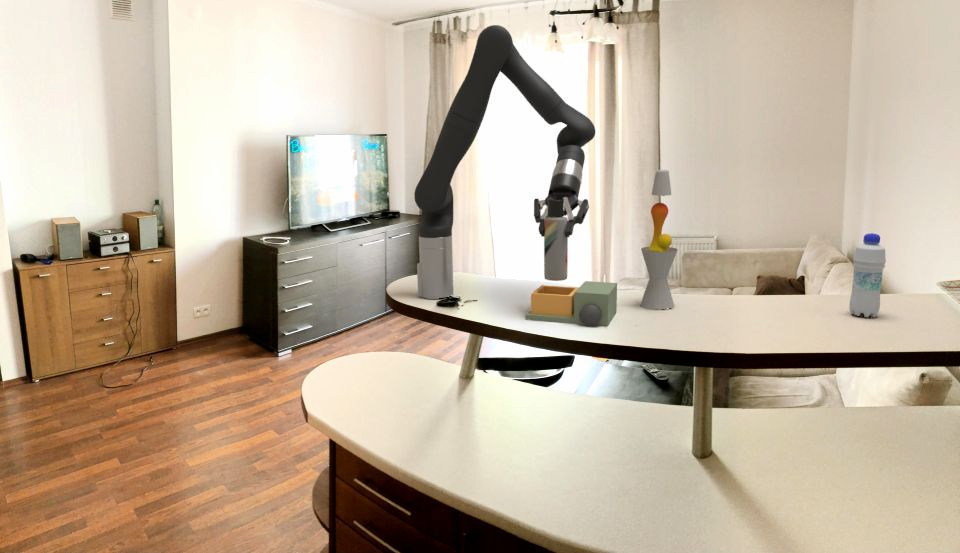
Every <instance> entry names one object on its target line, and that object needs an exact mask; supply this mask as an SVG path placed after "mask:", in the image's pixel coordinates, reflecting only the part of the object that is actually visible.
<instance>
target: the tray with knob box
mask: <svg viewBox="0 0 960 553" xmlns="http://www.w3.org/2000/svg"><path fill="white" fill-rule="evenodd" d="M617 301H618V283H617V282H605V281H590V280H589V281H588V280H585V281H584V282H583V283H582V284H581V285H580V286H579V287H575V286H561V285H544V284H542V285H540V286H539V287H537V288H536V289H535V290H534V291H532V292H531V293H530V310H529V311H527V313H526V314H525V317H524V318H525V320H527V321H528V320H529V321H541V322H552V323H564V324H565V323H566V324H576V325H585V326H586V327H591V328H592V327H595V326H600V327H601V326H603V327H609V325H610V324H611V322H612V321H613V319H614V318H615V316H616V314H617V308H618V307H617V305H618V304H617V303H618V302H617Z"/></svg>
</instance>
